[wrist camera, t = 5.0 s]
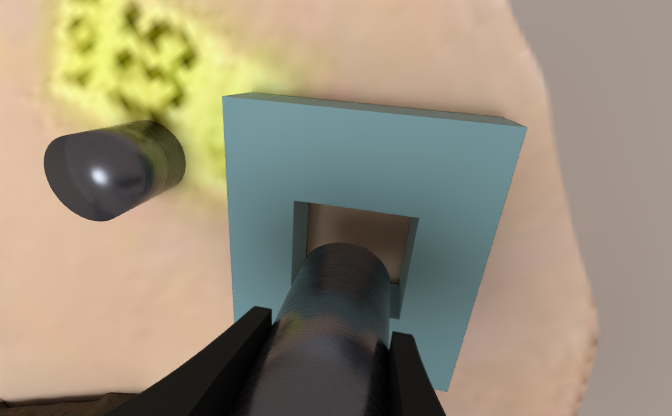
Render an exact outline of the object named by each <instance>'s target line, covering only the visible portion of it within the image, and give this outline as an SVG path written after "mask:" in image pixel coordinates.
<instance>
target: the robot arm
mask: <svg viewBox="0 0 672 416" xmlns="http://www.w3.org/2000/svg"><path fill="white" fill-rule="evenodd" d="M271 327H272V309H270V308H264V307H259V306H254V307H252V308H251V309H250V310H249V311H248V312H247V313H245V314H244V315H243V316H242V317H241V318H240V319H239V320H237V321H236V322H235V323H234V324H233V325H232V326H231V327H229V328H228V329H227V330H226V331H225V332H224V333H222V334H221V335H220V336H219V337H217V338H216V339H215V340H214V341H213V342H211V343H210V344H209V345H208V346H206V347H205V348H204V349H203V350H201V351H200V352H199V353H197V354H196V355H195V356H193V357H192V358H191V359H189V360H188V361H187V362H185V363H184V364H183V365H181V366H180V367H179V368H177V369H176V370H175V371H173V372H172V373H170V374H169V375H167V376H166V377H164V378H163V379H162V380H160V381H159V382H157V383H155V384H154V385H152V386H151V387H149V388H148V389H146V390H145V391H143V392H141V393H140V394H138V395H136V396H135V397H133V398H131V399H130V400H128V401H126V402H125V403H123V404H121V405H119V406H118V407H116V408H114V409H112V410H111V411H109V412H107V413H105V414H104V415H102V416H228V415H229V413H230V411H231V409H232V407H233V405H234V403H235V401H236V399H237V397H238V394H239V392H240V390H241V388H242V386H243V384H244V382H245V380H246V378H247V376H248V374H249V372H250V370H251V368H252V366H253V364H254V362H255V360H256V358H257V356H258V354H259V351H260V349H261V347H262V345H263V343H264V341H265V339H266V337H267V335H268V333H269V331H270V329H271ZM387 416H446V414H445V412H444V410H443V408H442V406H441V404H440V402H439V400H438V397H437V395H436V393H435V391H434V389H433V386H432V384H431V382H430V380H429V377H428V375H427V372H426V370H425V367H424V365H423V362H422V360H421V357H420V354H419V351H418V348H417V345H416V342H415V338H414V337H413V336H412V334H406V333H401V332H395V331H392V337H391V342H390V347H389V361H388V402H387Z"/></svg>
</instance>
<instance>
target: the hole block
mask: <svg viewBox="0 0 672 416" xmlns="http://www.w3.org/2000/svg"><path fill="white" fill-rule="evenodd" d="M222 102H223V121H224V140H225V159H226V177H227V196H228V215H229V233H230V252H231V271H232V290H233V308H234V323H235V322H236V321H237V320H239V319H240V318H241V317H242V316H243V315H244V314H245V313H247V312H248V311H249V310H250V309H251V308H252V307H254V306H259V307H264V308H270V309H272V325H273V323H274V321H275V319H276V317H277V315H278V313H279V311H280V308H281V306H282V304H283V302H284V300H285V298H286V296H287V294H288V292H289V290H290V288H291V286H292V284H293V282H294V280H295V278H296V276H297V274H298V272H299V270H300V268H301V265H302V263H303V262H304V260H305V258H306V245H307V225H308V206H309V203H315V204H322V205H330V206H337V207H344V208H351V209H358V210H365V211H373V212H380V213H387V214H394V215H401V216H408V217H411V222H410V227H409V233H408V238H407V243H406V249H405V254H404V260H403V265H402V270H401V276H400V281H399V284H393V283H390V322H389V347H390V342H391V337H392V331H395V332H401V333H406V334H412V336H413V337H414V338H415V342H416V345H417V348H418V351H419V354H420V357H421V360H422V362H423V365H424V367H425V370H426V372H427V375H428V377H429V380H430V382H431V384H432V386H433V389H435V390H440V391H445V392H447V391H448V388H449V384H450V381H451V378H452V375H453V371H454V368H455V365H456V361H457V358H458V355H459V351H460V348H461V345H462V342H463V338H464V335H465V332H466V328H467V325H468V322H469V318H470V315H471V312H472V309H473V305H474V302H475V299H476V295H477V292H478V289H479V285H480V282H481V279H482V276H483V272H484V269H485V266H486V262H487V259H488V256H489V252H490V249H491V246H492V243H493V239H494V236H495V233H496V229H497V226H498V223H499V219H500V216H501V213H502V210H503V206H504V203H505V200H506V196H507V193H508V190H509V186H510V183H511V180H512V177H513V173H514V170H515V167H516V163H517V160H518V157H519V153H520V150H521V147H522V144H523V140H524V137H525V134H526V130H527V127H525V126H523V125H520V124H518V123H516V122H513V121H511V120H508V119H506V118H504V117H494V116H484V115H474V114H464V113H454V112H444V111H434V110H424V109H414V108H404V107H393V106H383V105H373V104H363V103H353V102H343V101H333V100H323V99H313V98H303V97H293V96H283V95H272V94H262V93H252V92H251V93H243V94H236V95H228V96H222Z"/></svg>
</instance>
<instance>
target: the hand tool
mask: <svg viewBox="0 0 672 416" xmlns="http://www.w3.org/2000/svg"><path fill="white" fill-rule="evenodd" d="M136 395H138V394H119V393H108V394H106V395H104V396H103V397H102V398H101V399H99V400H96V401H91V402H72V403H68V402H62V403H57V404H52V405H33V406H21V407H13V408H11V407H10V406H9V405H8V404H7V403H6V402H4V401H2V402H0V416H102V415H104V414H105V413H107V412H109V411H111V410H112V409H114V408H116V407H118V406H119V405H121V404H123V403H125V402H126V401H128V400H130V399H131V398H133V397H135V396H136Z"/></svg>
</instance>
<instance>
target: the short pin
mask: <svg viewBox="0 0 672 416" xmlns="http://www.w3.org/2000/svg"><path fill="white" fill-rule="evenodd" d="M185 167H186V161H185V155H184V152H183V149H182V147H181V145H180V143H179V141H178V140H177V139H176V137H175V136H174V135H173V134H172V133H171V132H170V131H169V130H168V129H166V128H165V127H164V126H162V125H160V124H158V123H155V122H152V121H136V122H131V123H126V124H121V125H116V126H111V127H106V128H101V129H96V130H90V131H85V132H80V133H75V134H70V135H65V136H61V137H58V138H56V139H55V140H53V141H52V142H51V143H50V144H49V146H48V148H47V149H46V152H45V156H44V170H45V174H46V177H47V180H48V182H49V185H50V187H51V188H52V190H53V192H54V193H55V195H56V196H57V197H58V199H59V200H60V201H61V202H62V203H63V204H64V205H65V206H66V207H67V208H69V209H70V210H71V211H73V212H74V213H76V214H77V215H79V216H81V217H83V218H86V219H89V220H93V221H108V220H111V219H113V218H115V217H117V216H119V215H121V214H123V213H125V212H127V211H129V210H130V209H132V208H134V207H136V206H138V205H140V204H142V203H144V202H146V201H148V200H150V199H151V198H153V197H155V196H157V195H159V194H161V193H163V192H165V191H167V190H169V189H171V188H172V187H174V186H176V185H177V184H178V183H179V182H180V181H181V179H182V178H183V176H184V173H185Z"/></svg>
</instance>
